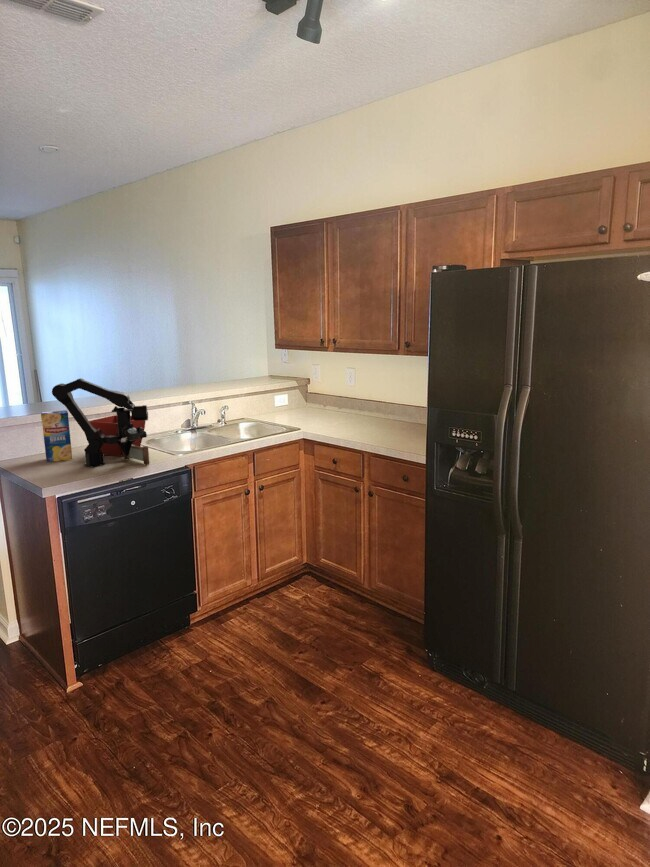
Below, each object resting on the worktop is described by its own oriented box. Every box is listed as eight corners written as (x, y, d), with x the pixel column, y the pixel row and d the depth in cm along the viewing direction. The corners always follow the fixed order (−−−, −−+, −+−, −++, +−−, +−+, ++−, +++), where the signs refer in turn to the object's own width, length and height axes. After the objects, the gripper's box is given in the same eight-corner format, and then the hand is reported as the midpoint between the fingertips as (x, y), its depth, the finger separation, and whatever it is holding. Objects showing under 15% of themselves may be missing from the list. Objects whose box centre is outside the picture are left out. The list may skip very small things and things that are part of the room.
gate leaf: (142, 461, 254) (141, 448, 253) (127, 457, 261) (126, 444, 260) (145, 460, 255) (145, 447, 254) (130, 456, 263) (129, 443, 261)
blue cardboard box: (45, 459, 264) (40, 412, 259) (71, 456, 269) (67, 410, 264) (46, 462, 258) (41, 414, 253) (72, 459, 263) (68, 412, 258)
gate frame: (145, 464, 252) (144, 447, 251) (123, 459, 263) (121, 442, 261) (150, 463, 254) (149, 446, 253) (127, 458, 265) (126, 441, 263)
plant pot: (117, 447, 287) (114, 414, 283) (149, 450, 280) (146, 416, 277) (90, 456, 269) (87, 421, 266) (123, 459, 263) (120, 423, 259)
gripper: (115, 426, 239) (118, 462, 243) (153, 420, 254) (155, 454, 257) (100, 423, 246) (104, 458, 249) (138, 417, 261) (140, 450, 264)
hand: (126, 455), depth 255 cm, fingers closed
